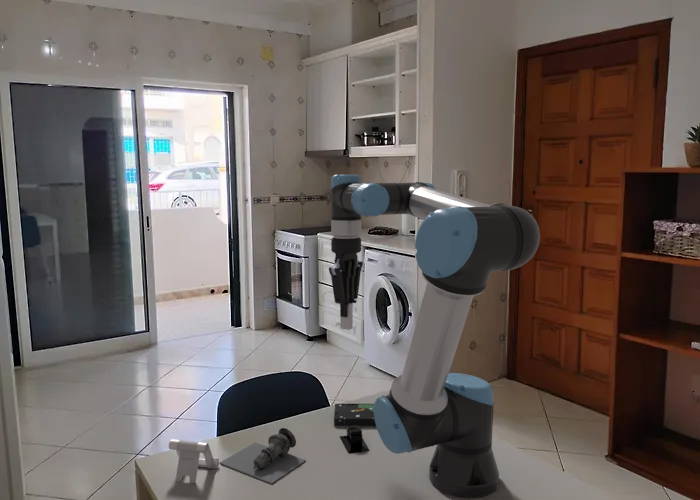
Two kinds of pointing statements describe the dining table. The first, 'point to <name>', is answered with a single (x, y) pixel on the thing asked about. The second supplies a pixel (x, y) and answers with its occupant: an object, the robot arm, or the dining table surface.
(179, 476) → the portable electronic device stand
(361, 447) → the black boxy piece
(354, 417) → the disk drive
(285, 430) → the dark grey turned piece
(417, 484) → the dining table surface
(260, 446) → the mat
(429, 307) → the robot arm
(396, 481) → the dining table surface
